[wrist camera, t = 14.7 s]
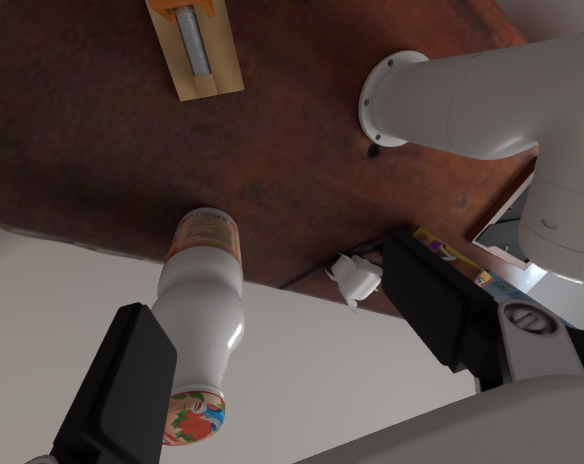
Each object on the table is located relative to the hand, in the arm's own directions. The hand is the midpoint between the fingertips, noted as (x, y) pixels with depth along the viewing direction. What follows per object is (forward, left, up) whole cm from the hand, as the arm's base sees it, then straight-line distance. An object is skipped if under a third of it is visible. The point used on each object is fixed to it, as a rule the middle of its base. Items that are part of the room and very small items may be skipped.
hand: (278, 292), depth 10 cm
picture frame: (-64, +18, -31) cm, 73 cm away
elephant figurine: (-20, +24, -31) cm, 44 cm away
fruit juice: (+6, +13, -31) cm, 34 cm away
